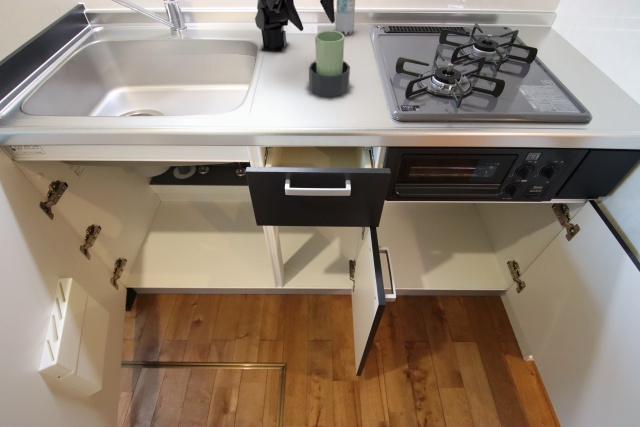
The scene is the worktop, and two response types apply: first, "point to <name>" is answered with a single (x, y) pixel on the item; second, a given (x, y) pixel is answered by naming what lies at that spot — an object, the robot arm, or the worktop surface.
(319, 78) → the bucket
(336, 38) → the cup
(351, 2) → the bottle
